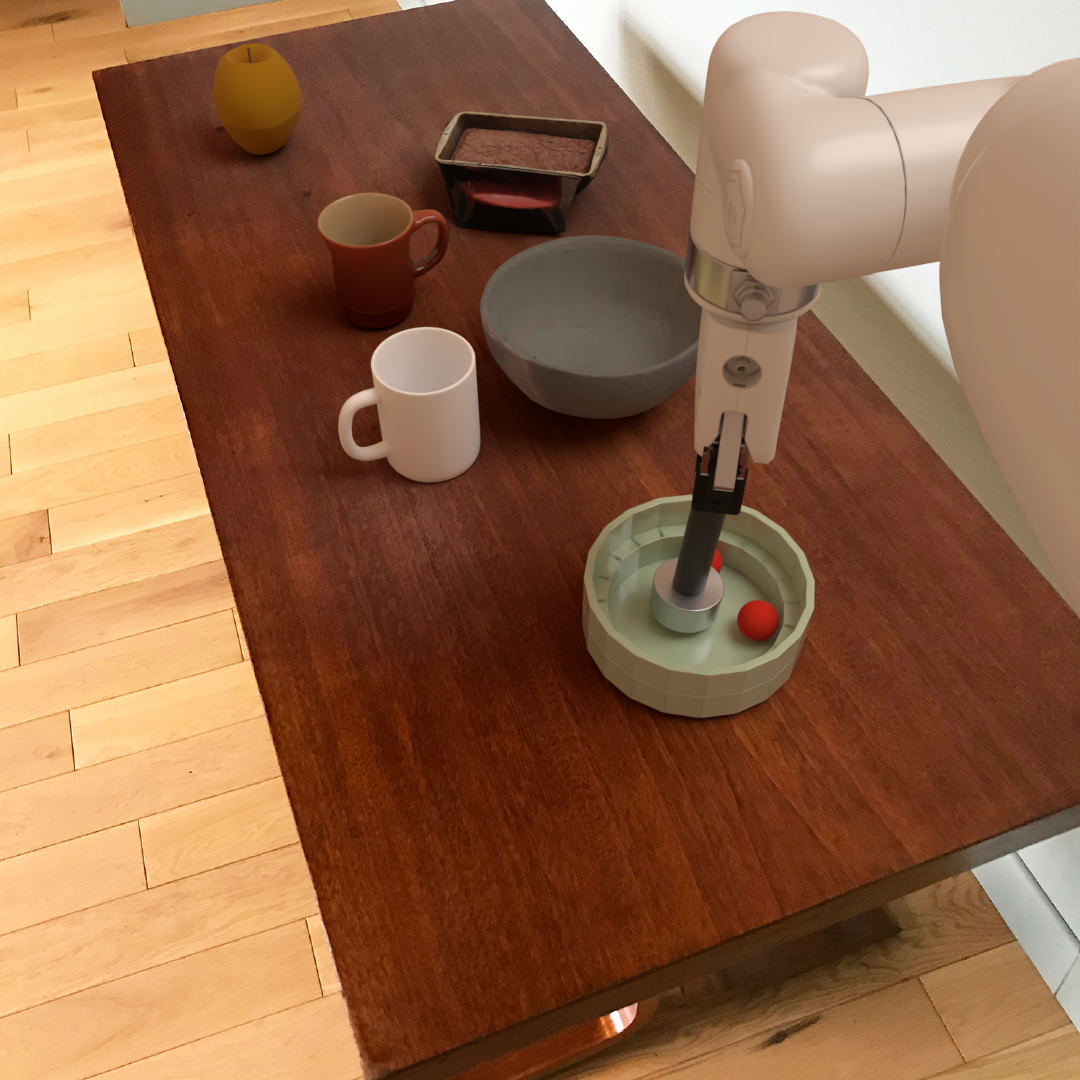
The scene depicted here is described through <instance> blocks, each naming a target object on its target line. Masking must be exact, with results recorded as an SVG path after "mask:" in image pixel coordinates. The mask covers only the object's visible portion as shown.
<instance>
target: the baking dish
mask: <svg viewBox="0 0 1080 1080" xmlns="http://www.w3.org/2000/svg"><path fill="white" fill-rule="evenodd" d="M609 147H610V139H609V128H608V125H607V124H606V123H605V121H597V120H596V121H595V120H594V121H593V120H585V119H583V120H581V119H570V118H569V119H567V118H555V117H541V116H531V115H530V116H529V115H519V114H505V113H495V112H480V111H461V112H459V113H456V114H455V115H454V116H452V117H451V118H449V120H448V121H447V122H446V123H445V125H444V128H443V130H442V132H441V134H440V135H439V137H438V139H437V142H436V143H435V151H434V153H433V154H434V155H433V157H434V160H435V161H436V163H437V166H438V167H439V170H440V173H441V175H442V178H443V181H444V185H445V188H446V192H447V197H448V199H449V202H450V206H451V210H452V214H453V218H454V224H455V226H456V227H460V228H467V229H476V230H489V231H504V232H506V231H507V232H528V233H551V234H560V233H566V231H567V228H566V227H567V226H566V219H567V216H568V214H569V212H570V211H569V210H570V208H571V205H572V202H573V199H574V198H575V197H576V196H578V195H579V194H580V193H581V192H583V190H584V189H586V188H587V187H588V186H590V184H591V183H592V182H593V181H594V179H595V178H596V177H597V175H598V173H599V171H600V168H601V166H602V164H603V161H604V160H606V159H607V155H608V151H609Z"/></svg>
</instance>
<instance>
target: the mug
mask: <svg viewBox="0 0 1080 1080" xmlns="http://www.w3.org/2000/svg"><path fill="white" fill-rule="evenodd" d="M316 222H317V223H316V227H317V231H318V233H319V235H320V236H321V238H322V240H323V242H324V243H325V245H326V247H327V249H328V252H329V255H330V259H331V263H332V273H333V274H332V275H333V280H334V286H335V287H334V288H335V295H336V299H337V301H338V306H339V308H340V309H341V313H342V314H343V316H344V317H345V318H346V319H347V320H348V321H349V322H350V323H352V324H354V325H356V326H359V327H362V328H366V329H384V328H385V329H386V328H388V327H392V326H394V325H396V324H398V323H400V322H402V321H403V320H405V319H406V318H407V317H408V316H409V315H410V313H411V312H412V310H413V308H414V305H415V303H414V301H415V298H416V297H415V293H416V285H415V280H416V279H417V278H420V277H422V276H424V275H426V274H427V273H428V272H430V271H431V270H432V269H433V268H435V267H436V266H437V265H438V264H440V262H441V261H442V260H443V259H444V257H445V255H446V252H447V249H448V246H449V241H450V228H449V224H448V222H447V219H446V217H445V216H444V215H443V213H441V212H440V211H439V210H436V209H429V208H428V209H421V210H414V211H413V209H412V207H411V206H410V205H409V203H407V202H406V201H405V200H403V199H401V198H399V197H397V196H395V195H391V194H387V193H382V192H359V193H353V194H349V195H346V196H343V197H342V196H341V197H340V198H337V199H335V200H333V201H332V202H330V203H329V204H328V205H326V206H325V207H324V208H322V210H321V212H320V213H319V215H318V217H317V221H316ZM430 223H436V224H437V236H436V238H437V239H436V243H435V245H434V247H433V249H432V250H431V251H430V252H429V253H428V254H427V255H425V256H423V257H420V258H416V259H411V253H410V245H411V244H410V243H411V237H412V236H413V234H415V232H417V231H418V230H419V229H420V228H421V227H423V226H424V225H427V224H430Z"/></svg>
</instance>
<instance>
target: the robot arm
mask: <svg viewBox="0 0 1080 1080" xmlns="http://www.w3.org/2000/svg"><path fill="white" fill-rule="evenodd" d="M869 75H870V62H869V58H868V53H867V50H866V47H865V45H864V44H863V42H862V41H861V39H860V38H859V36H857V35H856V33H854V32H853V31H852V30H851V29H849V28H848V27H847V26H845V25H844V24H842V23H840V22H838V21H836V20H833V19H832V18H831V19H830V18H827V17H824V16H822V15H818V14H814V13H809V12H802V11H792V10H791V11H790V10H789V11H788V10H782V11H781V10H777V11H767V12H760V13H756V14H752V15H750V16H747V17H744V18H742V19H740V20H738V21H737V22H735V23H733V24H731V25H730V26H728V28H726V29H725V30H724V31H723V32H722V33H721V34H720V36H719V37H718V38H717V40H716V42H715V43H714V45H713V47H712V50H711V53H710V55H709V59H708V64H707V71H706V77H705V87H704V96H703V97H704V98H703V104H702V113H701V124H700V133H699V141H698V148H697V149H698V151H697V159H696V166H695V167H696V168H695V176H694V187H693V195H692V202H691V213H690V214H691V215H690V222H689V223H690V225H689V228H688V229H689V230H688V239H687V247H686V248H687V249H686V257H685V259H686V265H685V273H684V282H685V287H686V289H687V291H688V293H689V295H690V296H691V297H692V298H693V300H694V301H695V302H697V303H698V304H699V305H700V306H701V307H702V314H701V323H700V332H699V342H698V355H697V368H696V371H695V385H694V386H695V390H694V421H693V422H694V423H693V424H694V425H693V426H694V427H693V433H694V434H693V449H694V451H695V452H696V460H695V466H694V467H695V468H694V472H695V475H694V483H693V490H692V495H693V496H692V504H691V508H692V509H693V510H695V511H702V512H711V513H719V514H728V515H738V514H739V513H740V511H741V506H742V505H743V500H744V495H745V490H746V484H747V479H748V475H749V467H747V465H748V461H749V455H750V458H751V460H752V462H753V463H754V464H763V465H768V464H769V463H771V462H772V461H773V460H774V459H775V457H776V452H777V451H776V450H777V445H778V439H779V437H778V436H779V432H780V427H781V421H782V415H783V410H784V406H785V399H786V395H787V394H786V393H787V389H788V384H789V378H790V373H791V367H792V361H793V356H794V349H795V342H796V335H797V328H798V318H799V317H801V316H802V315H804V314H806V313H808V312H809V311H810V310H811V309H812V308H813V307H814V306H815V305H816V303H817V302H818V300H819V297H820V295H821V293H822V288H823V284H826V283H832V282H837V281H843V280H848V279H849V280H850V279H855V278H860V277H867V276H870V275H874V274H876V273H877V274H878V273H883V272H890V271H896V270H901V269H905V268H911V267H917V266H922V265H927V264H928V265H929V264H934V263H939V265H938V277H939V279H938V280H939V283H938V284H939V285H938V286H939V297H940V298H939V299H940V310H941V320H942V324H943V329H944V332H945V337H946V341H947V344H948V349H949V352H950V356H951V360H952V364H953V368H954V370H955V374H956V376H957V378H958V382H959V384H960V387H961V389H962V391H963V394H964V396H965V398H966V400H967V402H968V406H969V407H970V410H971V412H972V415H973V416H974V419H975V421H976V424H977V426H978V428H979V431H980V433H981V435H982V437H983V439H984V441H985V443H986V446H987V448H988V450H989V452H990V454H991V456H992V458H993V460H994V462H995V464H996V466H997V467H998V470H999V472H1000V473H1001V475H1002V477H1003V479H1004V481H1005V483H1006V485H1007V487H1008V489H1009V491H1010V492H1011V494H1012V496H1013V498H1014V500H1015V502H1016V504H1017V505H1018V507H1019V510H1020V511H1021V513H1022V515H1023V517H1024V518H1025V520H1026V522H1027V524H1028V525H1029V527H1030V530H1031V531H1032V533H1033V535H1034V536H1035V539H1036V540H1037V543H1038V544H1039V546H1040V548H1041V549H1042V551H1043V553H1044V555H1045V557H1046V559H1047V561H1048V562H1049V564H1050V566H1051V568H1052V570H1053V572H1054V573H1055V576H1056V577H1057V579H1058V581H1059V583H1060V584H1061V586H1062V588H1063V589H1064V592H1065V595H1066V596H1067V598H1068V599H1069V601H1070V603H1071V605H1072V606H1073V608H1074V610H1075V612H1076V614H1077V616H1078V618H1079V619H1080V57H1073V58H1069V59H1064V60H1060V61H1056V62H1054V63H1051V64H1048V65H1045V66H1044V67H1041V68H1040V69H1036V70H1035V71H1033V72H1031V73H1030V74H1022V75H1011V76H1003V77H994V78H985V79H977V80H970V81H963V82H954V83H947V84H939V85H930V86H924V87H918V88H911V89H903V90H898V91H891V92H884V93H878V94H871V95H870V94H869V95H866V93H867V88H868V83H869ZM713 448H716V449H718V454H717V457H711V455H712V449H713Z"/></svg>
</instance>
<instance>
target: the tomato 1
mask: <svg viewBox="0 0 1080 1080" xmlns="http://www.w3.org/2000/svg"><path fill="white" fill-rule="evenodd" d="M711 566H712V567H713V568H714V569H715V570H716V571H717V572H718V573H720V571H721V568H722V556H721V554H720V552H719V550H718V549H717V548H716V551H715V555H714V558H713V562H712V565H711Z"/></svg>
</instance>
